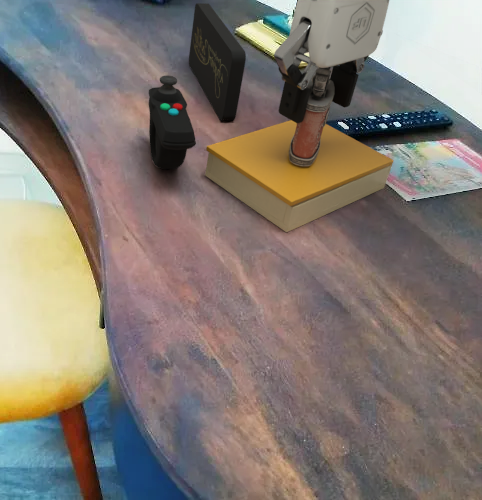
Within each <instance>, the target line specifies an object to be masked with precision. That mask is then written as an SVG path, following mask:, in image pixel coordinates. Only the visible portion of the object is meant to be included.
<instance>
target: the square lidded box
mask: <svg viewBox="0 0 482 500" xmlns="http://www.w3.org/2000/svg"><path fill="white" fill-rule="evenodd" d="M206 160H207V161H206V168H205V172H204V173H205V174H204V176H205V177H207V178H208V179H210V180H211V181H212V182H213V183H215V184H216V185H218V186H219V187H221V188H222V189H224V190H225V191H227V192H228V193H229V194H231V195H232V196H233V197H235V198H237V200H239V201H240V202H242V203H244V204H245V205H246V206H248V207H249V208H251V209H252V210H254V211H255V212H257V213H258V214H259V215H260V216H262V217H263V218H265V219H266V220H268V221H269V222H270V223H272V224H274V225H275V226H276V227H278V228H280V229H281V230H282V231H283V232H285V233H289V232H291V231H293V230H295V229H298V228H300V227H302V226H304V225H306V224H308V223H311V222H313V221H315V220H318V219H319V218H322V217H324V216H326V215H329V214H330V213H333V212H335V211H337V210H340V209H342V208H344V207H346V206H348V205H350V204H352V203H355V202H357V201H359V200H361V199H363V198H365V197H368V196H370V195H372V194H374V193H376V192H378V191H381V190H383V189H385V187H386V184H387V181H388V178H389V176H390V173H391V170H392V168H393V164H392V165H390V166H387V167H385V168H383V169H380V170H378V171H375V172H373V173H370V174H368V175H366V176H363V177H361V178H358V179H356V180H353V181H351V182H349V183H346V184H344V185H341V186H339V187H336V188H334V189H331V190H329V191H327V192H324V193H322V194H319V195H317V196H314V197H312V198H310V199H307V200H305V201H302V202H300V203H297V204H295V205H293V206H289V205H288V204H286V203H285V202H283V201H282V200H280V199H279V198H277V197H276V196H274V195H273V194H271V193H270V192H268V191H267V190H265V189H264V188H262V187H261V186H259V185H258V184H256V183H255V182H253V181H252V180H250V179H249V178H247V177H246V176H244V175H243V174H241V173H240V172H238V171H237V170H235V169H234V168H232V167H231V166H229V165H228V164H226V163H225V162H223V161H222V160H220V159H219V158H217V157H216V156H214V155H213V154H211V153H210V152H208V155H207V159H206Z"/></svg>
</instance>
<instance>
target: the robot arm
mask: <svg viewBox="0 0 482 500" xmlns="http://www.w3.org/2000/svg"><path fill="white" fill-rule="evenodd" d="M389 4H390V0H297V2H296V6H295V8H294V13H293V17H292V21H291V25H290V31H289V35H288V37H287V38H286V39H285V40H284V41H283V42H282V43H281V44H280V45H279V46H278V48H277V49H276V50H275V51H274V53H273V57H274V60H275V63H276V64H277V66H278V72H279V73H280V75H281V80H282V81H284V82H283V83H284V84H283V88H282V93H281V96H280V102H279V106H278V113H279V115H281V116H283V117H285V118H286V119H288V120H289V121H290V120H292V121H294V122H295V123H301V122H303V119H304V116H305V112H306V107H307V103H308V99H309V95H310V91H311V89H310V88H308V87H307V86H308V84H309V83H310V81H311V79H312V77H313V76H314V75H315V73H316V70H317V68H319V67H320V68H327V67H331V68H332V70H331V74H330V80H331V81H333V83H334V87H335V91H334V97H333V100H332V103H334V104H336V105H338V106H340V107H342V108H345V109H346V108H348V107H350V105H351V103H352V100H353V97H354V93H355V89H356V86H357V82H358V79H359V74H360V73H362V72H363V71H364V70H365V69H364V68H365V61H366V60H367V59H368V58H369V56H370V55H372V54H374V52H376V50H377V48H378V45H379V43H380V40H381V37H382V35H383V32H384V30H383V29H384V26H385V25H384V24H385V21H386V18H387V13H388V9H389ZM306 54H308V55H306ZM302 62H303V63H305V64H307V65H306V67H304V70H303V72H302V71H301V69H300V68H299V67H300V65H301V63H302Z"/></svg>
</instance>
